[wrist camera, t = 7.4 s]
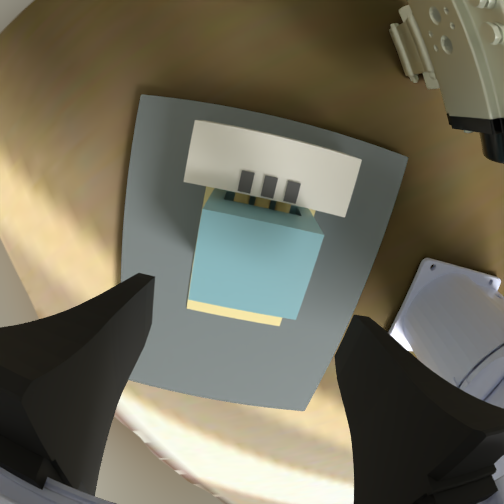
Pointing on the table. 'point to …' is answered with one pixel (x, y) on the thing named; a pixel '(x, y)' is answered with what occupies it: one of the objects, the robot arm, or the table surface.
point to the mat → (227, 319)
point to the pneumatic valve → (459, 61)
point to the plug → (254, 256)
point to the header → (270, 168)
